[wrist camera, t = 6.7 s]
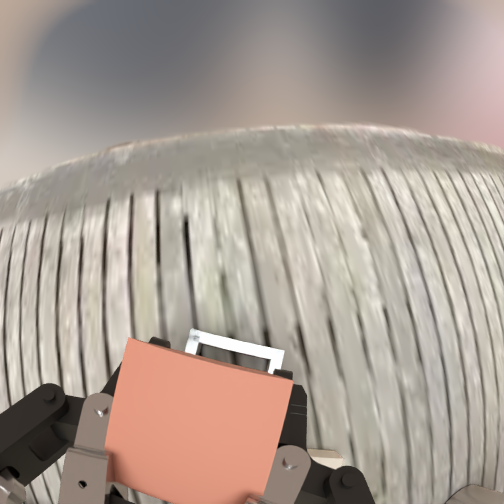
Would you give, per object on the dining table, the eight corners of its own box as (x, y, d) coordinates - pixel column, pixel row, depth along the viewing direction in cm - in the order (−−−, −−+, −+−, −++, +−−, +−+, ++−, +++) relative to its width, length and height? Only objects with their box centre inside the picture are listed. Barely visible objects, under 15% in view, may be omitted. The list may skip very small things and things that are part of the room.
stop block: (265, 371, 15) (293, 380, 7) (247, 443, 13) (254, 521, 5) (187, 352, 15) (128, 337, 7) (170, 423, 14) (100, 474, 5)
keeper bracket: (280, 351, 27) (284, 350, 24) (262, 428, 24) (264, 434, 21) (195, 331, 27) (190, 328, 25) (176, 407, 24) (169, 411, 22)
